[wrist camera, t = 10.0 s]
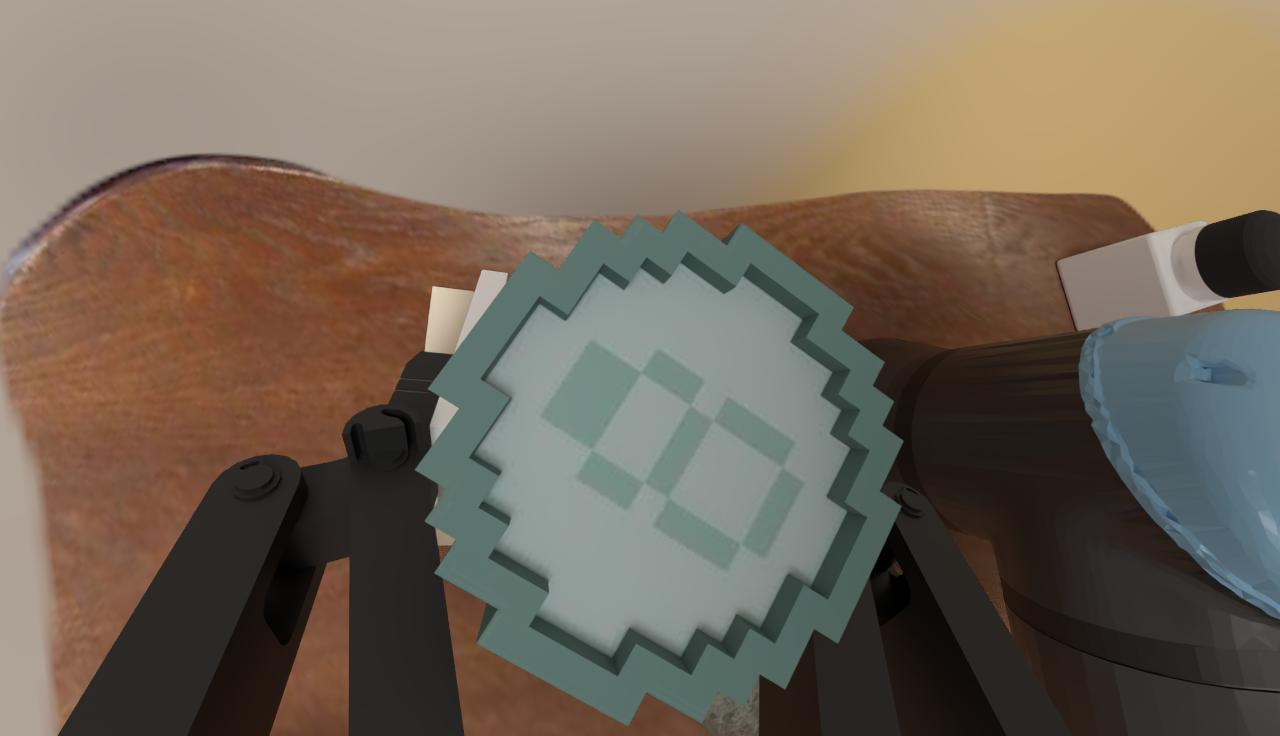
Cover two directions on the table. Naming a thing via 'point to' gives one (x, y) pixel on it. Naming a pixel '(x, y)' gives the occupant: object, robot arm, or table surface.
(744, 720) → the soupspoon
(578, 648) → the can
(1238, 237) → the medicine bottle
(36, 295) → the table surface
